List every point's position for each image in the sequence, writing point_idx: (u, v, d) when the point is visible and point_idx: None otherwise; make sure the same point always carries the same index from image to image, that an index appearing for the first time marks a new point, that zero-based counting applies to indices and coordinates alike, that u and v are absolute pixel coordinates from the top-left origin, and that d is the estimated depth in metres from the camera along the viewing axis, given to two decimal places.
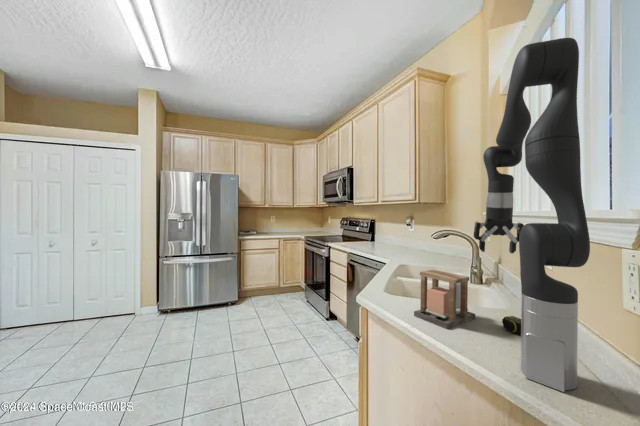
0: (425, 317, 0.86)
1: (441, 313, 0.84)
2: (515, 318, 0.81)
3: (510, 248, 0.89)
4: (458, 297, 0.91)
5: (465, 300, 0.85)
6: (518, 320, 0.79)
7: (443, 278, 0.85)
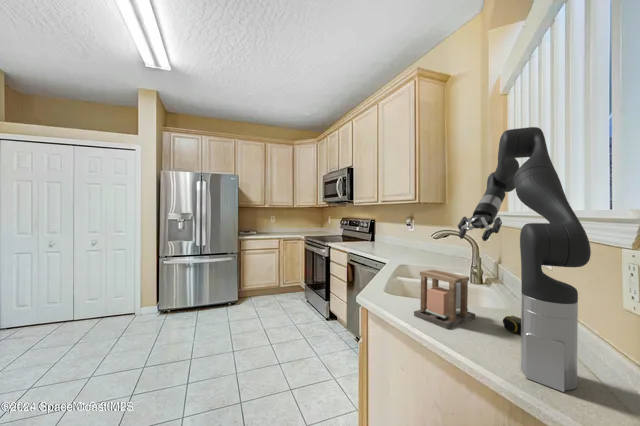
0: (425, 317, 0.86)
1: (441, 313, 0.84)
2: (516, 317, 0.81)
3: None
4: (458, 297, 0.91)
5: (465, 300, 0.85)
6: (519, 320, 0.79)
7: (443, 278, 0.85)
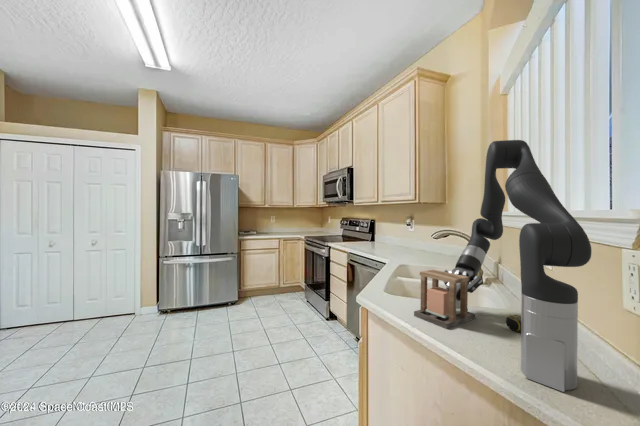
0: (425, 317, 0.86)
1: (441, 313, 0.84)
2: (519, 317, 0.81)
3: None
4: None
5: (465, 300, 0.85)
6: None
7: (443, 278, 0.85)
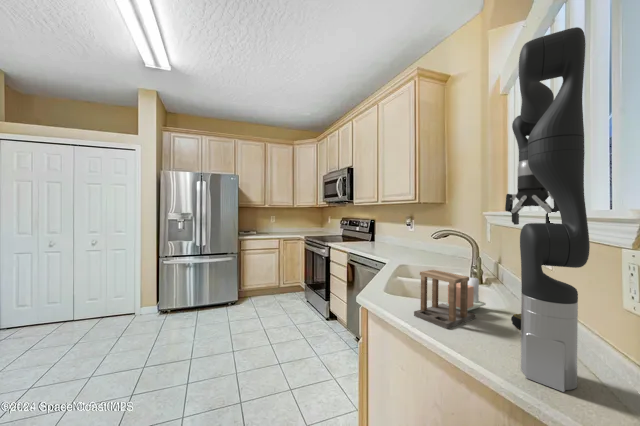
0: (425, 317, 0.86)
1: None
2: None
3: None
4: (476, 292, 0.97)
5: (465, 300, 0.85)
6: None
7: (443, 278, 0.85)
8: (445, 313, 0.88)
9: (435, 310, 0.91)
